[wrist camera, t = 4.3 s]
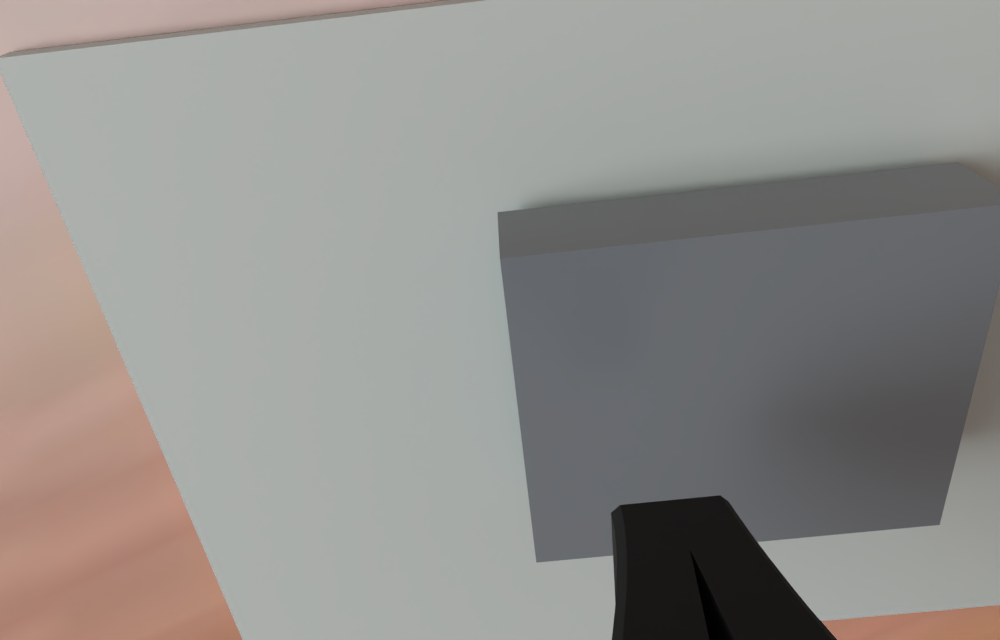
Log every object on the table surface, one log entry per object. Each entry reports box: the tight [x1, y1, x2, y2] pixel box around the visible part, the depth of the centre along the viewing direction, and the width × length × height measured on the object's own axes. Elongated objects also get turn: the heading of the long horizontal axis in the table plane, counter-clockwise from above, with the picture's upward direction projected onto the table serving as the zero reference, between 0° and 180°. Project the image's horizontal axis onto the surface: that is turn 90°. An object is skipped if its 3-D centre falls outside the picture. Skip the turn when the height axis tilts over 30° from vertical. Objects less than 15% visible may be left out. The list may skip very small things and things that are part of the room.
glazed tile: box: [497, 162, 1000, 563], centre depth 13 cm, size 2×6×7 cm
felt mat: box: [0, 0, 1000, 640], centre depth 15 cm, size 20×14×1 cm
